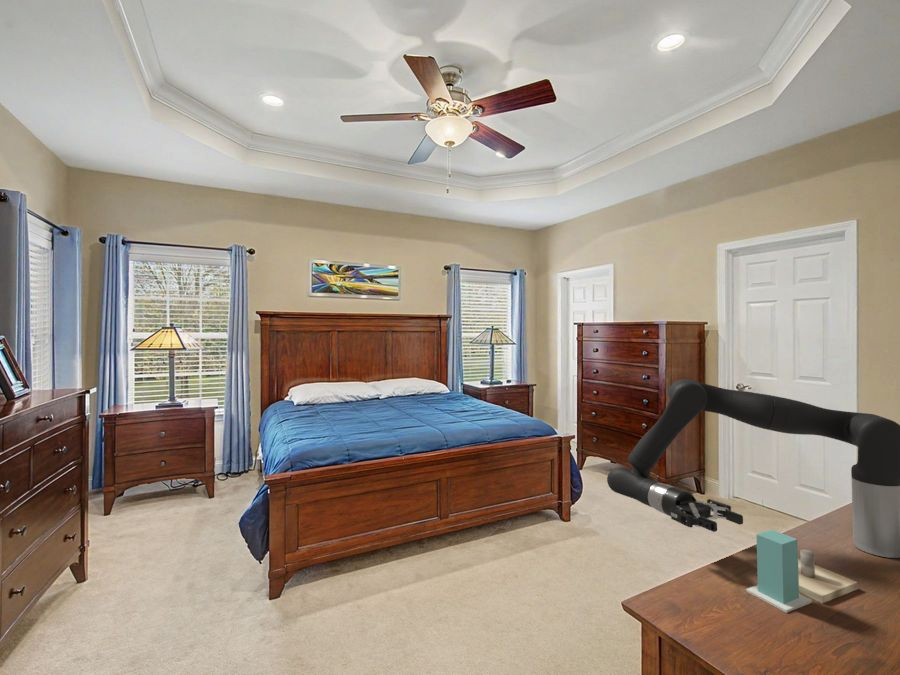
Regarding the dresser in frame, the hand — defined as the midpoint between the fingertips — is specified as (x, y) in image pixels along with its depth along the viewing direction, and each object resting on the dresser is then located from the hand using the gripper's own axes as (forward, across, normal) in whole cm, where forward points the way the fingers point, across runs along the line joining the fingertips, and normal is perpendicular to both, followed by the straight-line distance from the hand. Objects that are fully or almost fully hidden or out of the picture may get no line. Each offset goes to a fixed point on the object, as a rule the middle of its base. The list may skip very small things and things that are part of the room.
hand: (729, 523), depth 103 cm
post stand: (+10, +11, +11) cm, 18 cm away
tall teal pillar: (+11, -1, +10) cm, 15 cm away
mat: (+11, -1, +11) cm, 15 cm away
